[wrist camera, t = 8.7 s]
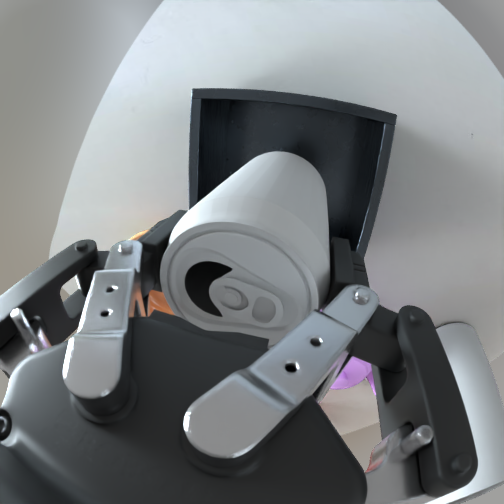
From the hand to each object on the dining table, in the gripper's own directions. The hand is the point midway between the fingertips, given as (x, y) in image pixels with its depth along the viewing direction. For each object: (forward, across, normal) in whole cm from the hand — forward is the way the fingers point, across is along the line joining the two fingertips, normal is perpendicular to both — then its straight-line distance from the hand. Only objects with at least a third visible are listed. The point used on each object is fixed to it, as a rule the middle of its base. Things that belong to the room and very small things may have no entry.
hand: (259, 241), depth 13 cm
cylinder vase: (+16, -28, +21) cm, 39 cm away
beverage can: (+8, 0, 0) cm, 8 cm away
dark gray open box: (+16, 0, 0) cm, 16 cm away
